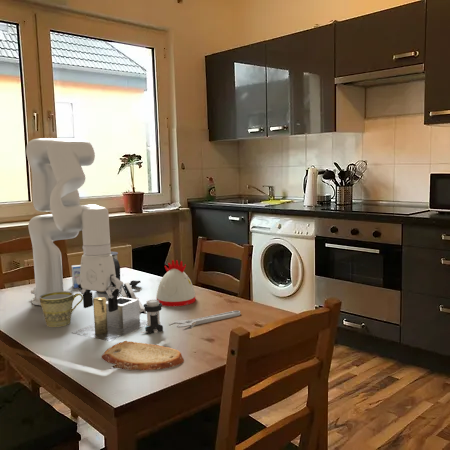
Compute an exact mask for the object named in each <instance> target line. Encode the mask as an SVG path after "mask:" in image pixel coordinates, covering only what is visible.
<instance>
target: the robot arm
mask: <svg viewBox="0 0 450 450" xmlns="http://www.w3.org/2000/svg"><path fill="white" fill-rule="evenodd" d="M94 149H95V148H94V147H93V145H92V143H91V142H90V141H89V140H86V139H81V138H69V137H68V138H67V137H66V138H59V137H58V138H57V137H56V138H53V137H51V138H50V137H48V138H47V137H43V138H42V137H41V138H33V139H31V140H29V141H28V142H27V144H26V149H25V152H26V157H27V158H26V159H27V161H28V164H29V167H30V171H31V177H32V178H31V179H32V181H31V183H32V187H31V188H32V203H33V204H32V205H33V208H34V209H35V211H37V212H41V213H42V212H44V213H46V212H47V214H40V215H36V216H33V217H32V218H30V220H29V221H28V232H29V236H30V240H31V245H32V246H31V248H32V256H33V257H32V259H33V269H34V270H33V271H34V283H35V284H34V286H35V287H34V288H33V289H31V290H30V294H31V295H32V294H33V295H34V297H33V298H32V299H31V303H32V304H33V305H35V306H41V303H40V298H39V297H40V295H42V294H45V293H48V292H54V291H65V290H64V278H63V261H62V252H61V250H60V248H59V247H58V246H57V245H56V244H55V243H54V242H55V241H61V240H71V239H74V238H76V237H77V236H78V235H79V234H80V232H81V231H82V232H81V233H82V235H81V236H82V250H83V254H82V255H81V258H80V265H81V267H80V276H79V277H77V278H76V281H77V284H78V287H79V288H78V289H79V291H80V294H81V295H82V296H83V300H82V304H83V308H84V309H86V308H87V309H88V308H90V307H94V306H93V299H94V298H93V297H94V296H93V292H96V291H99V292H104V291H106V292H107V293H106V294H107V295H108V298H107V301H108V309H109V312H113V311H115V310H117V309H118V301H117V298H118V297H120V294H121V293H120V292H121V291H122V287H123V286H124V282H123V281H122V280H121V279H120V280H119V279H118V278H116V273H115V266H114V261H113V257H112V255H111V252H112V251H111V237H110V236H111V234H110V232H111V231H110V216H109V210H108V208H106V207H105V206H100V205H98V204H81V199H80V197H81V196H80V193H79V189H80V188H81V187H83V185H84V184H85V183H86V175H85V172H84V170H83V168H82V167H85V166H86V167H88V166H91V165H92V164H93V163H94V161H95V159H96V158H95V157H96V155H95V154H96V153H95V150H94ZM48 212H49V213H48ZM50 212H51V213H50ZM115 287H116V288H115ZM111 290H112V291H113V292H111ZM92 291H93V292H92Z"/></svg>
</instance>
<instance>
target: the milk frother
mask: <svg viewBox="0 0 450 450" xmlns="http://www.w3.org/2000/svg"><path fill="white" fill-rule="evenodd" d="M118 254H119V252H117V251H111V255H112V257H113V261H114V266H115V273H116V278H118V279H119V280H120V281H121V266H120V261H119V260H118ZM128 283H129V284H130V286H131V288H135V287H136V286H137V285H138V284H140V283H141V280H131V281H130V282H128ZM115 288H116V287H115ZM95 292H96V293H98V294H107V292H106V291H104V292H99V291H95ZM111 292H112V293H113V291H112V290H111Z"/></svg>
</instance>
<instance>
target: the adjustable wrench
mask: <svg viewBox="0 0 450 450" xmlns="http://www.w3.org/2000/svg"><path fill="white" fill-rule="evenodd" d="M238 316H241V311H240V310H232V311H226V312H221V313H217V314H212V315H208V316H204V317H203V316H202V317H198V318H193V319H178V320H172V321H170V322H168V326H171V325H174V324H178V325H177V326H176V328H184V329H183V331H186V330H190V329H191V330H192V329H193V328H194V327H195V326H198V325H202V324H206V323H210V322H216V321H221V320H225V319H229V318H234V317H238Z"/></svg>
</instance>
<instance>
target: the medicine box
mask: <svg viewBox="0 0 450 450" xmlns="http://www.w3.org/2000/svg"><path fill="white" fill-rule="evenodd" d="M80 267H81V264H73V265H71V279H72V281H71V282H72V287H73V288H74V289H77V288H78V289H79V287H78V284H77V281H76V278H77V277H79V276H80Z"/></svg>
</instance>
